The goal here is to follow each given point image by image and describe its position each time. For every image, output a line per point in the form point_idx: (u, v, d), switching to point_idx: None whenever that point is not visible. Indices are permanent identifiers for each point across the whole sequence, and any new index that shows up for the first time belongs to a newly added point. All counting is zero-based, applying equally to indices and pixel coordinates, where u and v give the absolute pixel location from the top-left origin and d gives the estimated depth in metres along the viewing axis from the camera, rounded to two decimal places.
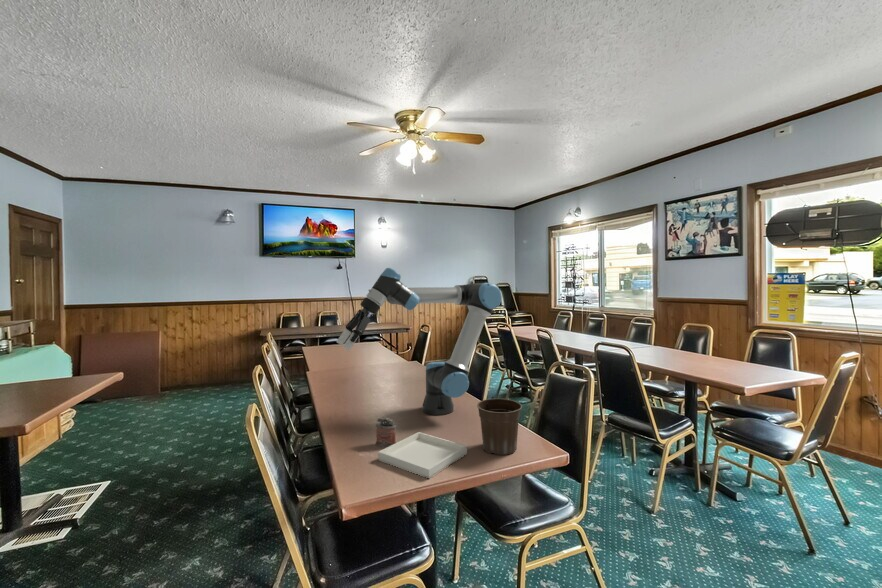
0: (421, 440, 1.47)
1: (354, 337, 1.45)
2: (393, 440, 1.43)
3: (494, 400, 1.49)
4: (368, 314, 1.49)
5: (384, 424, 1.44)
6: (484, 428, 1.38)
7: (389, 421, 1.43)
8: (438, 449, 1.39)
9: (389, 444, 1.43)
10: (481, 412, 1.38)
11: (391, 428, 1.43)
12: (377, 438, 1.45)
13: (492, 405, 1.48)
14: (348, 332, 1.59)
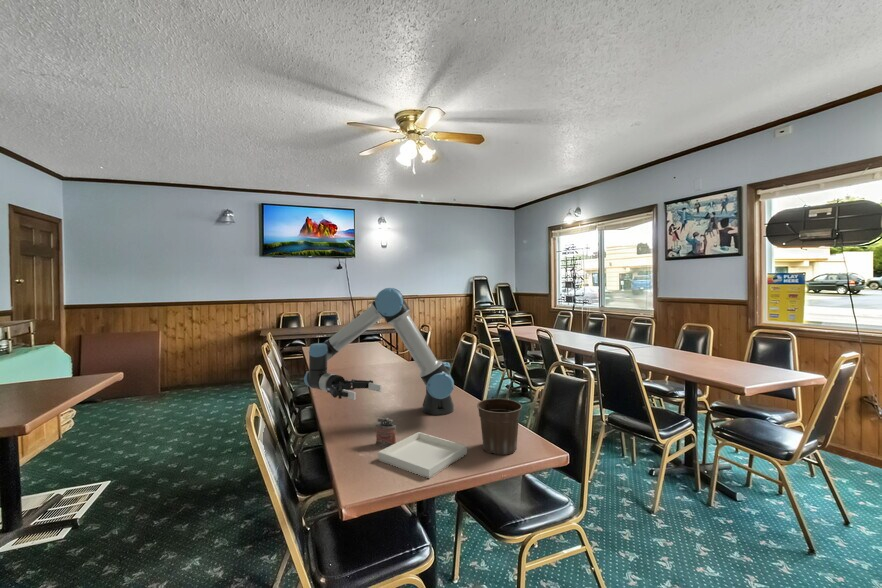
0: (421, 440, 1.47)
1: (342, 394, 1.46)
2: (393, 440, 1.43)
3: (494, 400, 1.49)
4: (328, 390, 1.53)
5: (384, 424, 1.44)
6: (484, 428, 1.38)
7: (389, 421, 1.43)
8: (438, 449, 1.39)
9: (389, 444, 1.43)
10: (481, 412, 1.38)
11: (391, 428, 1.43)
12: (377, 438, 1.45)
13: (492, 405, 1.48)
14: (369, 385, 1.59)
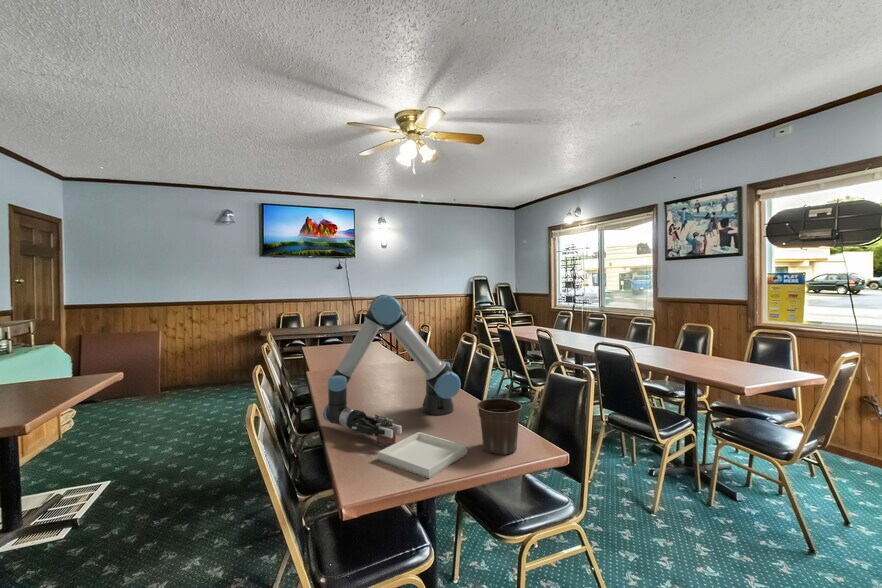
0: (421, 440, 1.47)
1: (379, 432, 1.41)
2: (392, 440, 1.43)
3: (494, 400, 1.49)
4: (354, 429, 1.46)
5: (384, 424, 1.44)
6: (484, 428, 1.38)
7: (389, 421, 1.43)
8: (438, 449, 1.39)
9: (389, 444, 1.43)
10: (481, 412, 1.38)
11: (391, 428, 1.43)
12: (377, 438, 1.45)
13: (492, 405, 1.48)
14: None
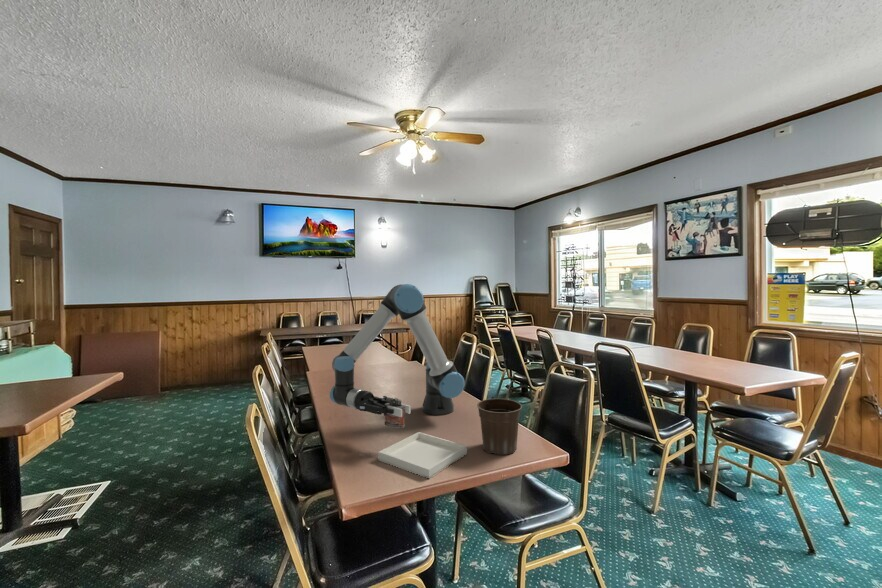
0: (421, 440, 1.47)
1: (387, 411, 1.37)
2: (401, 420, 1.38)
3: (494, 400, 1.49)
4: (362, 408, 1.42)
5: (393, 404, 1.40)
6: (484, 428, 1.38)
7: (398, 401, 1.39)
8: (438, 449, 1.39)
9: (397, 424, 1.39)
10: (481, 412, 1.38)
11: None
12: (386, 418, 1.41)
13: (492, 405, 1.48)
14: None
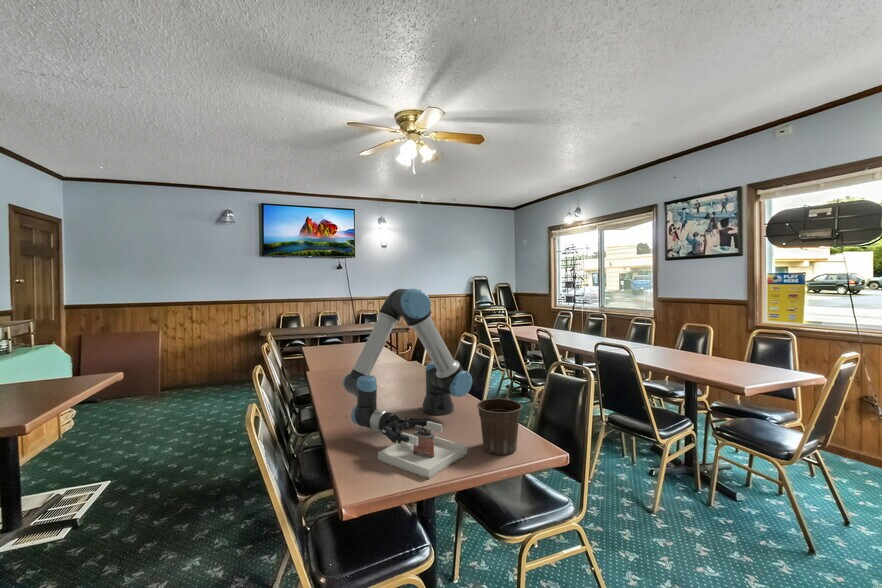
0: None
1: (402, 439, 1.29)
2: (431, 450, 1.32)
3: (494, 400, 1.49)
4: (383, 432, 1.36)
5: (422, 432, 1.33)
6: (484, 428, 1.38)
7: (427, 430, 1.33)
8: (438, 449, 1.39)
9: (427, 454, 1.32)
10: (481, 412, 1.38)
11: (429, 437, 1.32)
12: (414, 447, 1.35)
13: (492, 405, 1.48)
14: (427, 424, 1.41)
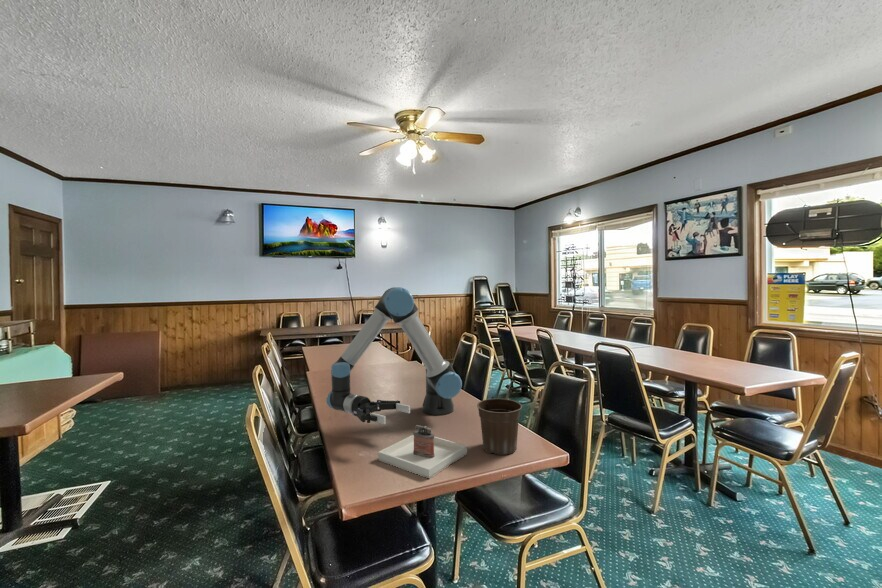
0: None
1: (371, 419, 1.38)
2: (431, 450, 1.32)
3: (494, 400, 1.49)
4: (354, 413, 1.45)
5: (422, 432, 1.34)
6: (484, 428, 1.38)
7: (427, 430, 1.33)
8: (438, 449, 1.39)
9: (427, 454, 1.32)
10: (481, 412, 1.38)
11: (429, 437, 1.32)
12: (414, 447, 1.35)
13: (492, 405, 1.48)
14: (397, 406, 1.51)
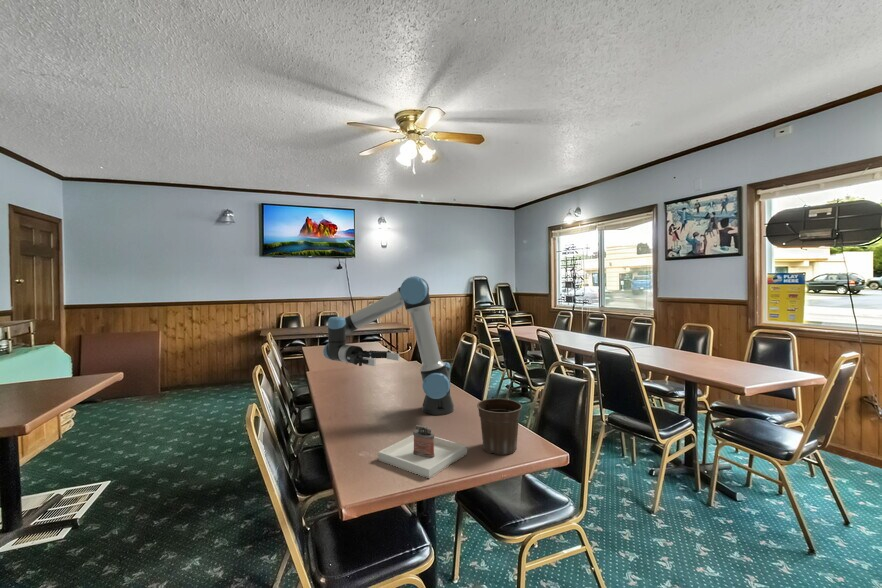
0: None
1: (363, 362, 1.51)
2: (431, 450, 1.32)
3: (494, 400, 1.49)
4: (348, 359, 1.58)
5: (422, 432, 1.34)
6: (484, 428, 1.38)
7: (427, 430, 1.33)
8: (438, 449, 1.39)
9: (427, 454, 1.32)
10: (481, 412, 1.38)
11: (429, 437, 1.32)
12: (414, 447, 1.35)
13: (492, 405, 1.48)
14: (387, 354, 1.63)
